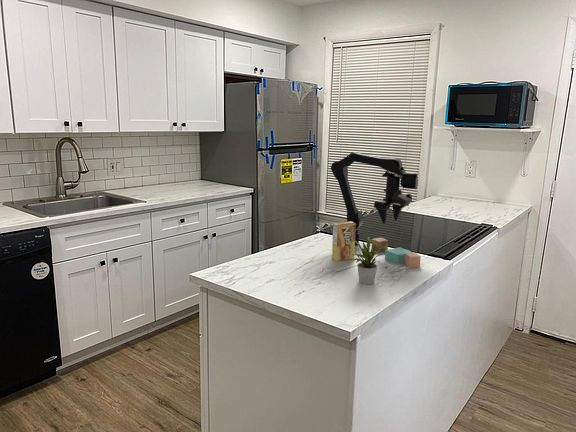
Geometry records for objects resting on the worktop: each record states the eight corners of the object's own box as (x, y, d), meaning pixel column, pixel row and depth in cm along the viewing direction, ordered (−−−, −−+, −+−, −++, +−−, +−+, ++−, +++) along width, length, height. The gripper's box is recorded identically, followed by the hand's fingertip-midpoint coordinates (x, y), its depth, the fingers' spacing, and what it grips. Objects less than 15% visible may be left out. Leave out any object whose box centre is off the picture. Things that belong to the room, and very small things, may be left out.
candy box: (349, 255, 189) (350, 220, 185) (354, 258, 185) (356, 223, 182) (331, 258, 185) (332, 223, 181) (337, 261, 181) (337, 225, 178)
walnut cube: (378, 252, 193) (379, 241, 192) (371, 249, 198) (371, 238, 197) (387, 251, 196) (388, 240, 195) (380, 248, 200) (380, 237, 199)
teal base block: (397, 264, 179) (398, 255, 178) (384, 258, 185) (385, 249, 185) (412, 261, 182) (413, 252, 181) (399, 256, 189) (400, 247, 188)
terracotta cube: (408, 267, 174) (409, 256, 173) (404, 263, 179) (405, 253, 178) (419, 267, 175) (420, 256, 174) (415, 263, 179) (416, 252, 178)
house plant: (345, 273, 168) (346, 231, 164) (382, 274, 166) (384, 232, 163) (346, 287, 154) (347, 242, 150) (386, 288, 153) (388, 243, 149)
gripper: (396, 192, 181) (393, 228, 185) (420, 187, 194) (417, 222, 197) (374, 188, 189) (371, 223, 193) (398, 184, 202) (395, 217, 205)
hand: (390, 221), depth 197 cm, fingers open, 9 cm apart
